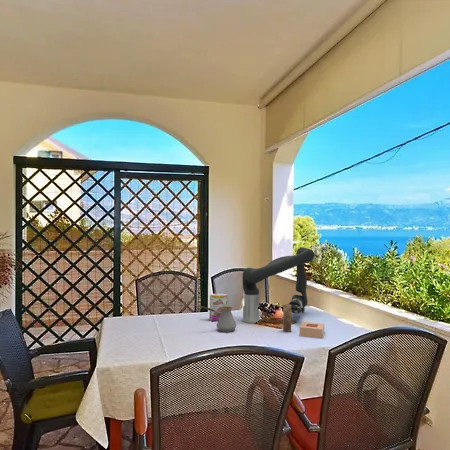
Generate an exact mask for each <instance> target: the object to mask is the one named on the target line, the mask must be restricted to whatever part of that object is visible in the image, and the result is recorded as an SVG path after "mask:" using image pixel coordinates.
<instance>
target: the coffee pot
mask: <svg viewBox="0 0 450 450" xmlns="http://www.w3.org/2000/svg"><path fill="white" fill-rule="evenodd" d="M201 309H205V310H207V311H209V312H210V311H213V312H217V313H219V314H221V315H220V318H219V320H218V321H217V323H216V328H217V329H218V330H219V331H220V332H223V333H230V332H234V330H235V329H236V328H237V323H236V320H235V318H234V316H233V313H232V309H233V307H231V306H228V307H221V309H222V313H221V312H218V311H215V310H213V309H210V307H208V306H207V307H206V306H205V305H204V306H203V305H200V307H199V310H201Z"/></svg>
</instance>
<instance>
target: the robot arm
mask: <svg viewBox="0 0 450 450" xmlns="http://www.w3.org/2000/svg"><path fill="white" fill-rule="evenodd" d="M315 255H316V253H315V251H314V250H312V249H310V248H307V247H303V246H300V247H298V248H297V250H296V253H295V254H294V255H284V256H280V257H277V258H275V259H273V260H271V261H270V262H269V263H267V265H264V266H261V267H257V268H253V267H246V268H245V269H244V270H243V272H242V290H243V302H244V303H243V306H242V310H243V311H242V322H243V323H248V324H257V323H259V322H260V290H259V288H258V287H257V284H258V283H260V282H262V281H264V280H265V279H267V278H270V277H272V276H275V275H278V274H280V273H284V272H285V271H288V270H291V269H293V268H295V267H296V281H295V291H296V292H297V293H300V294H301V295H300V294H294V295H292V297H291V301H290V302H289V303H288V304H290V305H291V314H292V313H293V314H296V313H297V314H300V313H303V314H304V313H305V310H306V307H307V305H308V296H307V286H308V278H307V273H306V269H305V264H309V263H310V262H312V261H313V260H314V259H315ZM283 305H284V304H282V305H281V306H283ZM258 307H259V309H258ZM281 312H282V313H283V309H282V311H281ZM258 321H259V322H258ZM256 322H257V323H256Z"/></svg>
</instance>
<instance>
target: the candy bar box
mask: <svg viewBox="0 0 450 450" xmlns="http://www.w3.org/2000/svg"><path fill="white" fill-rule="evenodd" d="M221 307H229V293H226V294H225V293H210V294H209V308H210V309H213V310H215V311H218V312H221V313H222V309H221ZM220 315H221V314H219V313H217V312H213V311H210V310H209V322H218V320H219V318H220Z"/></svg>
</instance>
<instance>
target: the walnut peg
mask: <svg viewBox="0 0 450 450" xmlns="http://www.w3.org/2000/svg"><path fill="white" fill-rule="evenodd" d="M282 305H283V312H282V313H283V315H282V316H283V317H282V318H283V321H282V323H283V324H282V325H283V327H282V328H283V330H282V331H283V332H284V333H291V332H292V312H291V305H290V304H289V303H283V304H282Z"/></svg>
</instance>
